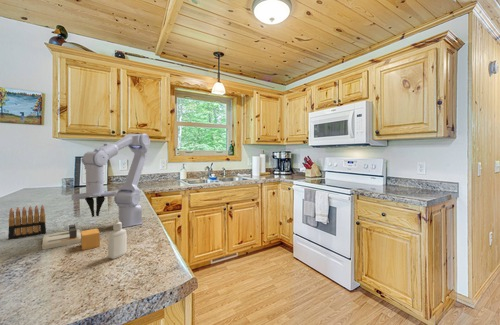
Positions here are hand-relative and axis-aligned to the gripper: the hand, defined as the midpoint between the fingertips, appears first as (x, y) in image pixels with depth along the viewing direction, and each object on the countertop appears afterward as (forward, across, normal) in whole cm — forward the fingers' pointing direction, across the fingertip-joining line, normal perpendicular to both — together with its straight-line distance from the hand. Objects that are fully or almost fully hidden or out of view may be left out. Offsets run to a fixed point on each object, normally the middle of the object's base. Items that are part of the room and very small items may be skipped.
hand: (95, 215), depth 90 cm
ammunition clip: (+9, -20, +18) cm, 28 cm away
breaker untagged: (+7, -7, +6) cm, 12 cm away
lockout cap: (+8, -2, -9) cm, 13 cm away
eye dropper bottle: (+9, +4, -24) cm, 26 cm away
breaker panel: (+8, -10, +3) cm, 13 cm away
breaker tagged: (+7, -7, 0) cm, 10 cm away
